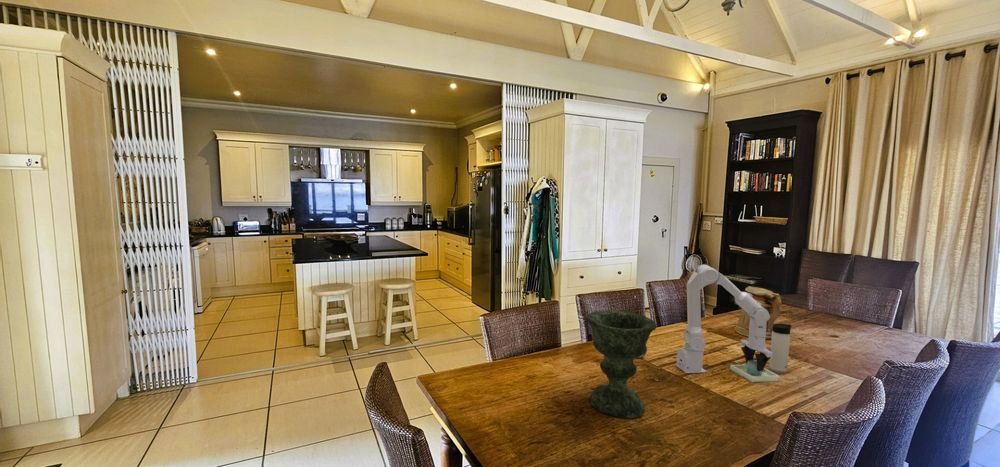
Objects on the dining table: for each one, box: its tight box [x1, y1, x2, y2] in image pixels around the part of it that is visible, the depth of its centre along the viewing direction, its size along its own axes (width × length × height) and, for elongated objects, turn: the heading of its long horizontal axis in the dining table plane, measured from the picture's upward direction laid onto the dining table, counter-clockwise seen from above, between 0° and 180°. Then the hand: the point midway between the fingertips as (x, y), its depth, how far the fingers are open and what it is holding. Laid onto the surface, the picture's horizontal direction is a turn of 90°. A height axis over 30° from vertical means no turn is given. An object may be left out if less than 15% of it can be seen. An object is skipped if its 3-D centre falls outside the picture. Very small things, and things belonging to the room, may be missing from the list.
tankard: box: [734, 286, 782, 341], centre depth 214 cm, size 18×24×25 cm
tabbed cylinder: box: [747, 359, 766, 375], centre depth 165 cm, size 7×5×4 cm
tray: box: [730, 364, 780, 383], centre depth 165 cm, size 12×12×2 cm
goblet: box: [584, 310, 658, 419], centre depth 138 cm, size 22×22×30 cm
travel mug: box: [768, 323, 792, 375], centre depth 169 cm, size 6×7×20 cm
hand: (754, 367), depth 165 cm, fingers open, 5 cm apart
